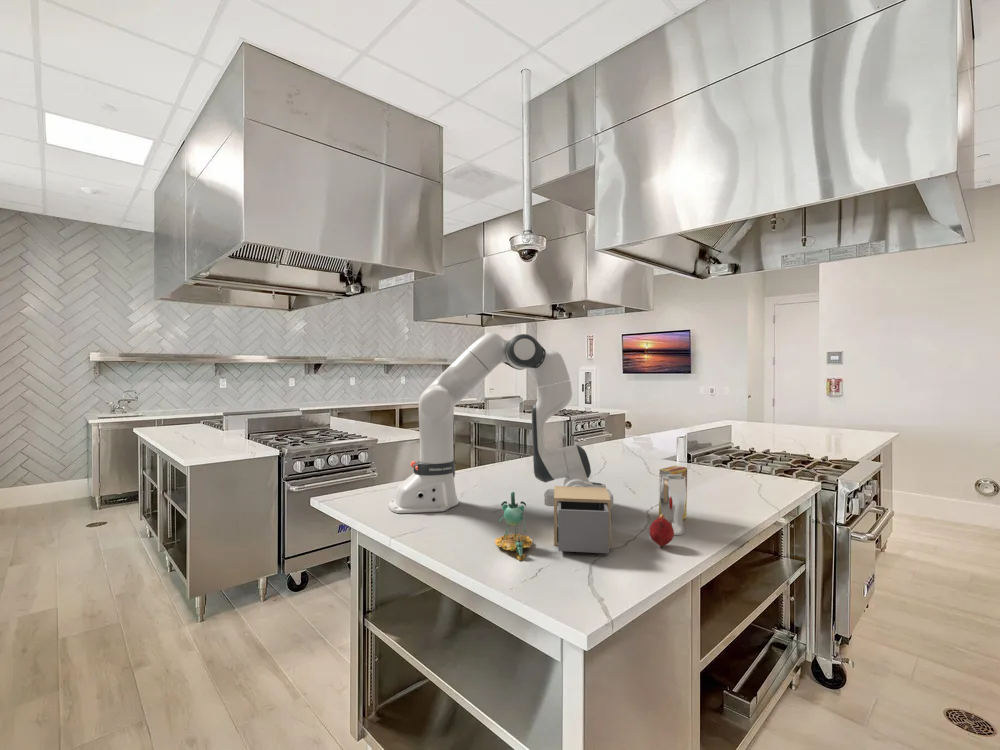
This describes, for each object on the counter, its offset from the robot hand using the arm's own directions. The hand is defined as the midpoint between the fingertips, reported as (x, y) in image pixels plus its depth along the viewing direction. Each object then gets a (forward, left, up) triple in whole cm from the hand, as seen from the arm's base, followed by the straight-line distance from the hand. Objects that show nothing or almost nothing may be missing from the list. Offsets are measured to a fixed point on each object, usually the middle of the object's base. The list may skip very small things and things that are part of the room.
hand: (579, 506), depth 133 cm
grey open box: (-6, -11, -4) cm, 13 cm away
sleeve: (-4, -9, -6) cm, 11 cm away
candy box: (+29, -5, -6) cm, 30 cm away
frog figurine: (-23, -8, -6) cm, 26 cm away
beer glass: (+22, -13, -6) cm, 26 cm away
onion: (+12, -21, -6) cm, 25 cm away
